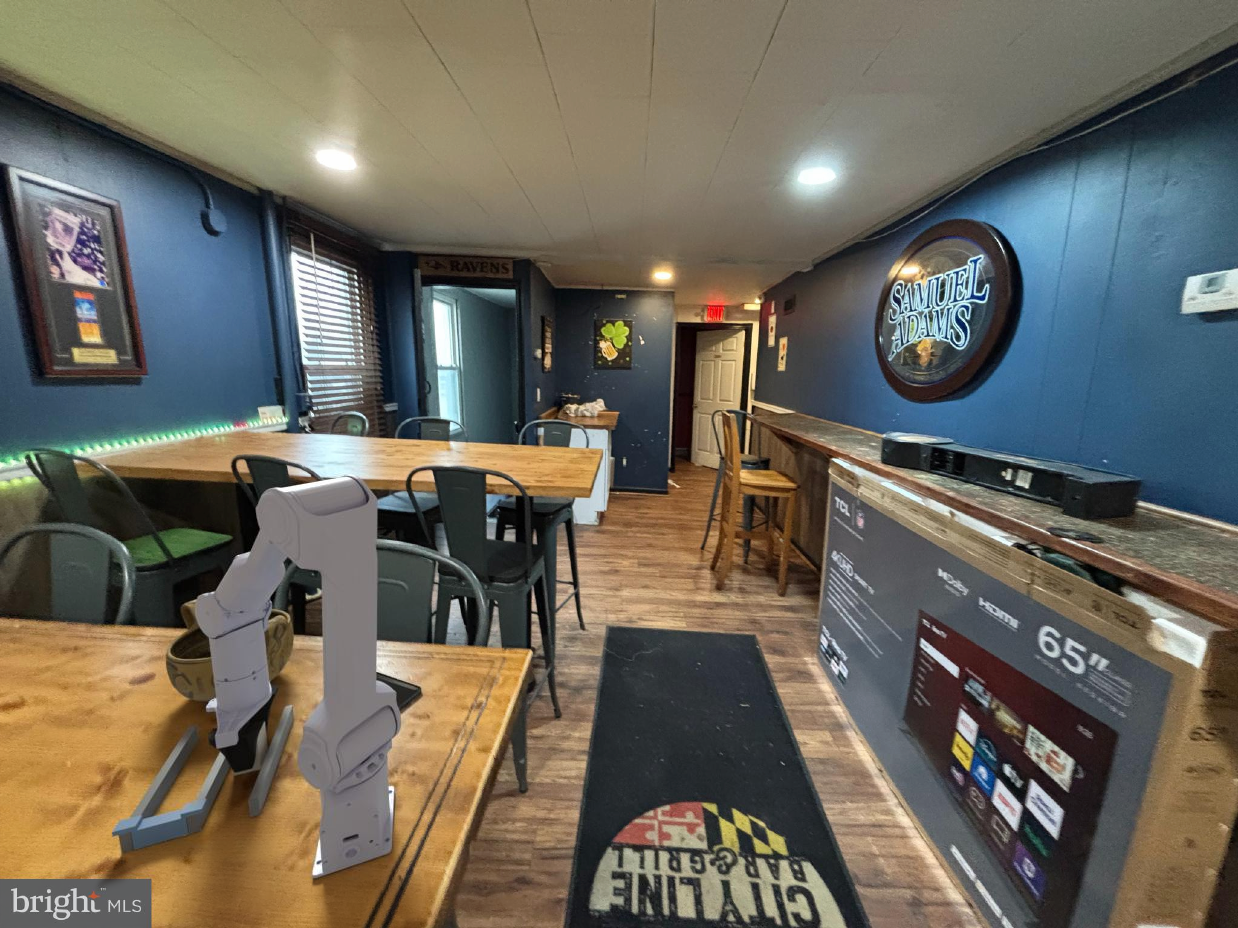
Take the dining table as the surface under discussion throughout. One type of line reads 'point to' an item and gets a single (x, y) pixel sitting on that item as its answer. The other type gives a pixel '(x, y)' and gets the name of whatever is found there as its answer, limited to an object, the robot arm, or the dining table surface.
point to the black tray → (400, 689)
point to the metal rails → (190, 819)
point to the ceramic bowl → (193, 654)
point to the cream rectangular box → (259, 751)
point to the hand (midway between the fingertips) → (250, 753)
